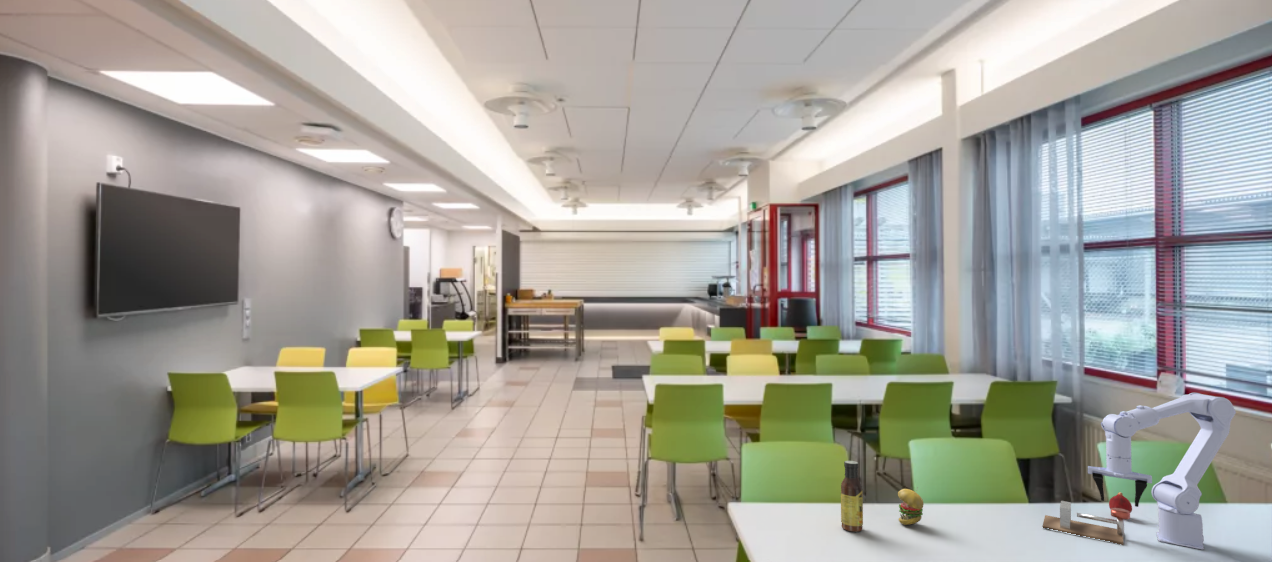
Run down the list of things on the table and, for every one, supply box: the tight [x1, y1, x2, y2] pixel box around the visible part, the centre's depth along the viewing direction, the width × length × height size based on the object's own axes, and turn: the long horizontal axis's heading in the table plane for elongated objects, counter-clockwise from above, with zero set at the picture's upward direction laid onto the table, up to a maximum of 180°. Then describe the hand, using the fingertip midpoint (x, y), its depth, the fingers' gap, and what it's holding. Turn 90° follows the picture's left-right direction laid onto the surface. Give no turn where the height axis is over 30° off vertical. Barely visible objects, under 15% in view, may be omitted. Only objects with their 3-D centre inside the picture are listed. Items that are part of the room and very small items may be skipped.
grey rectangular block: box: [1059, 500, 1072, 529], centre depth 179 cm, size 2×8×6 cm, turn 142°
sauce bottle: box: [840, 460, 864, 533], centre depth 177 cm, size 6×6×20 cm
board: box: [1041, 514, 1124, 546], centre depth 177 cm, size 19×12×1 cm, turn 52°
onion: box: [1108, 491, 1133, 514], centre depth 188 cm, size 6×6×8 cm
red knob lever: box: [1076, 508, 1131, 537], centre depth 174 cm, size 12×4×7 cm, turn 52°
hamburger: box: [897, 486, 924, 526], centre depth 180 cm, size 8×7×12 cm
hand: (1119, 502), depth 172 cm, fingers open, 7 cm apart
